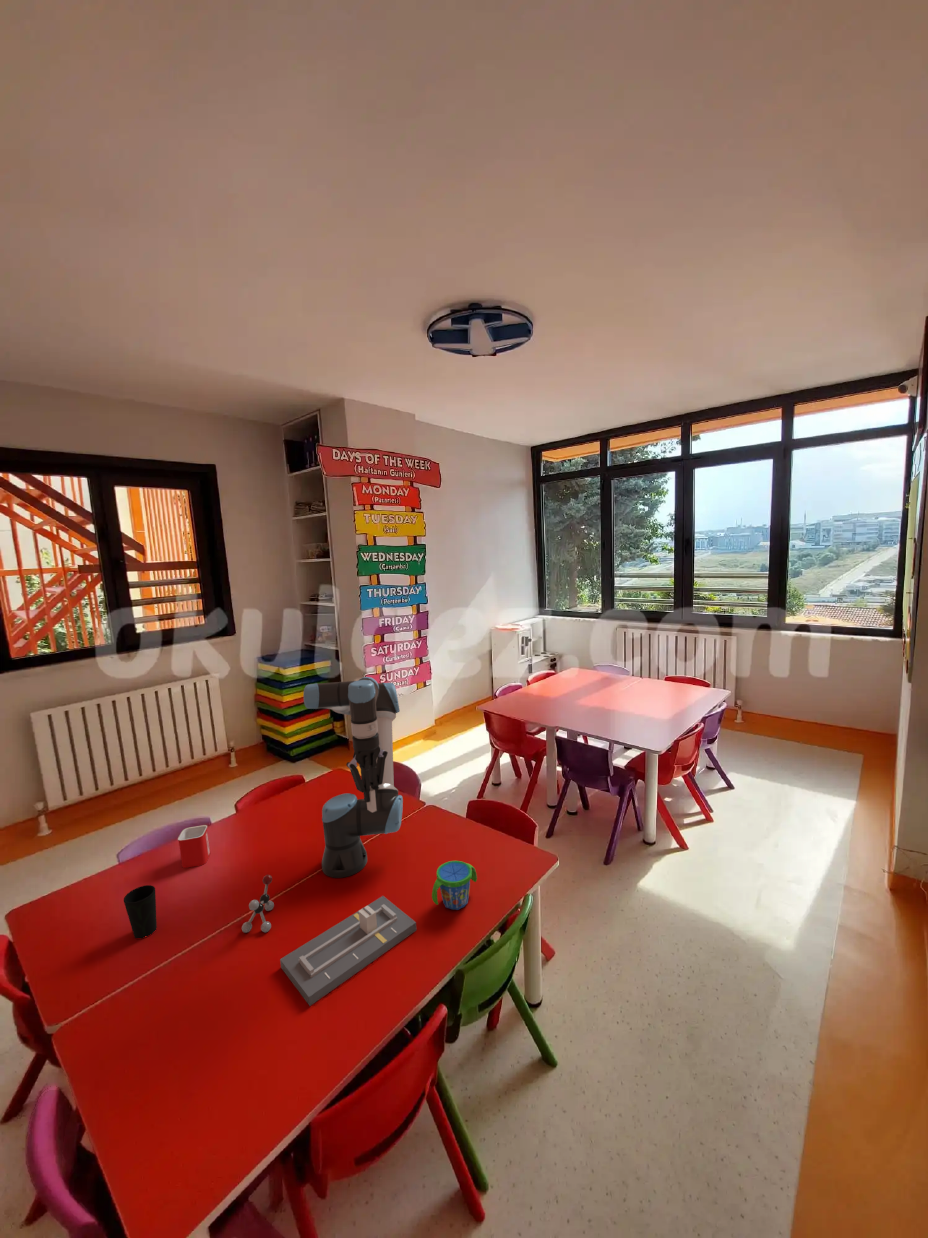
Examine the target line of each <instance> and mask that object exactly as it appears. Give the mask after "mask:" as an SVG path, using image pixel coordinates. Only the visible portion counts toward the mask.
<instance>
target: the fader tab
mask: <svg viewBox="0 0 928 1238" xmlns="http://www.w3.org/2000/svg"><path fill="white" fill-rule="evenodd" d="M368 905H369V904H368ZM368 905H366V906H364V907H362V908H361V909H359V910H358V911H359V922H360V928H361V929H362V930H363V931H364V932H365V933H367V934H369V933H371V932H372V931H374V930H375V929H377V920H376V912H375V911H374V910H373V909H372V908H370V907H369V906H368Z"/></svg>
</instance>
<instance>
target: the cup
mask: <svg viewBox="0 0 928 1238" xmlns="http://www.w3.org/2000/svg"><path fill="white" fill-rule="evenodd" d="M156 897H157V896H156V887H155V886H154V885H151V884H147V885H145V884H144V885H142V886H138V887H135V888H134V889H132V890H130V891H129V892H128V893H126V894H125V895H124V898H123V904H124V906H125V910H126V914H127V917H128V920H129V923H130V926H131V930H132V933H133V937H134V938H135V939H136V938H143V937H145V936H148V935H150V934H151V935H153V934H154V933H155V932H156V931H157V929H156V928H158V926H157V925H158V924H157V923H158V922H157V899H156ZM155 930H156V931H155ZM154 931H155V932H154ZM153 932H154V933H153ZM152 933H153V934H152ZM151 935H150V936H151ZM148 937H149V936H148ZM143 939H144V938H143Z"/></svg>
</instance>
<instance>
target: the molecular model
mask: <svg viewBox="0 0 928 1238" xmlns="http://www.w3.org/2000/svg"><path fill="white" fill-rule="evenodd" d="M272 881H273V877H272V875H271V874H266V875H265V876H263V877H262V883H263V885H265V886H264V891H263V894H262V895H261V896H259V900H258V899H253V900H251V901H250V902H249V904H248V908H249V910H250V911H253V912H252V915H251V916H250V918H249V919H248V921H246V922H244V923H243V924H242V926H241V930H242V932H243V933H245V934H246V933H249V932H250V931H252V928H253V924H252V922H253V920H254V918H255V917H256V915H257V914H258V915H260V918H261V921H262V924H261V925H260V930H261V932H263V933H267V932H269V931H270V930H271V928H272V924H271V922H270V921H266V917H265V915H264V913H263V911H264V910H265V911H267V912H270V911H272V910H273V909H274V907H275V904H274V902H273V901H272V900H270V894H268V888H269V885H270V884H271V883H272Z"/></svg>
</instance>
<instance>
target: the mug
mask: <svg viewBox="0 0 928 1238" xmlns="http://www.w3.org/2000/svg"><path fill="white" fill-rule="evenodd" d="M177 841H178V846H179V853H180V859H181V866H182V868H183V869H188V868H189V869H190V868H194V867H199V866H203V865H205V864H206V863H207V862H208V860H209V858H210V856H211V847H210V842H209V833H208V825H206V824H203V825H197V826H190V827H186V828H184V829H183V830H182V831H181V832H180V834H179V835H178V837H177Z"/></svg>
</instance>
